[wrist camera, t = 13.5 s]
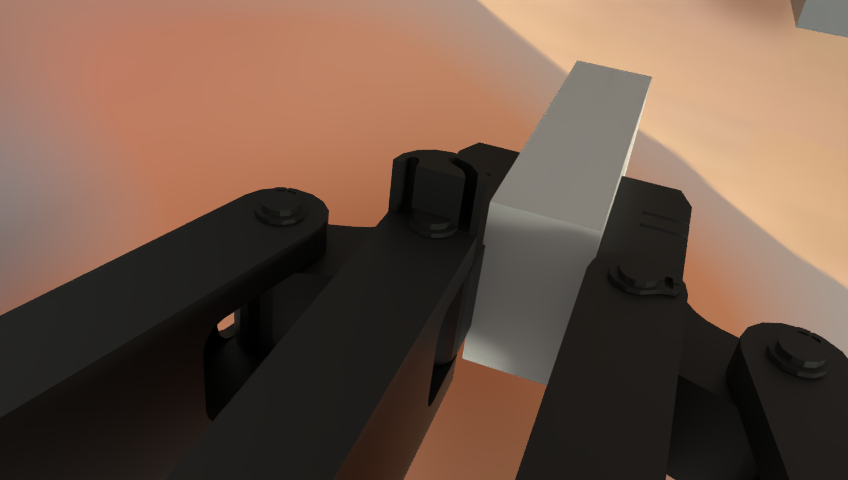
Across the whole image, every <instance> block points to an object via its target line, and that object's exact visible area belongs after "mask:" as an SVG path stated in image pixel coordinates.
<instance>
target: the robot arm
mask: <svg viewBox="0 0 848 480" xmlns="http://www.w3.org/2000/svg"><path fill="white" fill-rule="evenodd" d="M651 80H652V77H650V76H646V75H641V74H637V73H632V72H627V71H623V70H618V69H614V68H609V67H605V66H600V65H595V64H591V63H586V62H582V61H577V62H576V64H575V65H574V67H573V68H572V70H571V72H570V73H569V75H568V77H567V78H566V80H565V82H564V83H563V85H562V86H561V88H560V90H559V91H558V93H557V94H556V96H555V98H554V99H553V101H552V103H551V104H550V106H549V107H548V109H547V111H546V112H545V114H544V115H543V117H542V119H541V120H540V122H539V123H538V125H537V127H536V128H535V130H534V132H533V133H532V135H531V136H530V138H529V140H528V141H527V143H526V145H525V146H524V148H523V149H522V151H521V153H519V152H516V151H512V150H508V149H504V148H500V147H496V146H491V145H487V144H484V143H477V144H475V145H472V146H470V147H467V148H465V149H462V150H460V151H459V152H458V154H456V153H453V152H447V151H440V150H416V151H412V152H407V153H403V154H402V155H400V156H398V157H397V158H395V159H393V168H392V178H391V189H390V198H389V209H388V213H387V214H386V215H385V216H384V218H383V219H382V220H381V221H380V222H379V223H378V225H377V226H376V227H351V226H339V225H329V224H328V216H329V210H328V209H327V207H326V205H325V203H324V202H323V201H322V200H320V199H319V198H317V197H315V196H314V195H312V194H309V193H306V192H303V191H300V190H297V189H292V188H289V189H287V188H284V187H276V188H273V189H263V190H258V191H255V192H252V193H249V194H246V195H244V196H242V197H240V198H238V199H236V200H234V201H232V202H230V203H228V204H226V205H224V206H221V207H220V208H217V209H216V210H213V211H211V212H209V213H207V214H205V215H203V216H201V217H199V218H197V219H195V220H193V221H191V222H189V223H187V224H185V225H183V226H181V227H179V228H177V229H175V230H173V231H171V232H169V233H167V234H165V235H163V236H161V237H159V238H157V239H155V240H153V241H151V242H149V243H147V244H145V245H142V246H141V247H138V248H137V249H135V250H132V251H130V252H129V253H126V254H124V255H122V256H120V257H118V258H116V259H114V260H112V261H110V262H108V263H106V264H104V265H102V266H100V267H98V268H96V269H94V270H92V271H90V272H88V273H86V274H84V275H82V276H80V277H78V278H76V279H74V280H72V281H70V282H68V283H66V284H64V285H61V286H59V287H57V288H55V289H53V290H51V291H49V292H47V293H46V294H43V295H41V296H39V297H37V298H35V299H33V300H31V301H29V302H27V303H25V304H23V305H21V306H19V307H17V308H15V309H13V310H11V311H9V312H7V313H5V314H3V315H1V316H0V480H403V479H404V477H405V475H406V473H407V471H408V469H409V467H410V465H411V463H412V461H413V459H414V457H415V455H416V453H417V451H418V449H419V447H420V445H421V443H422V441H423V439H424V437H425V435H426V432H427V431H428V429H429V427H430V424H431V422H432V420H433V418H434V416H435V414H436V412H437V410H438V408H439V406H440V404H441V402H442V400H443V398H444V396H445V394H446V392H447V390H448V388H449V386H450V384H451V382H452V379H453V374H454V368H455V362H456V356H457V353H458V351H459V349H460V347H461V345H462V343H463V341H464V339H465V337H466V340H465V346H464V351H463V357H462V358H463V359H466V360H469V361H472V362H475V363H478V364H482V365H485V366H488V367H491V368H494V369H498V370H500V371H503V372H507V373H510V374H513V375H516V376H520V377H522V378H525V379H528V380H532V381H535V382H538V383H541V384H544V385H547V387H546V390H545V393H544V396H543V399H542V402H541V405H540V408H539V411H538V414H537V417H536V420H535V423H534V426H533V429H532V432H531V434H530V437H529V441H528V443H527V446H526V449H525V452H524V455H523V458H522V461H521V464H520V467H519V470H518V473H517V476H516V479H515V480H666V474H667V475H668V476H670V477H672V478H673V479H675V480H848V358H847V357H846V356H845V355H844V353H843V352H842V351H840V350H839V349H838V348H836V347H835V346H834V345H832V344H831V343H830V342H828V341H827V340H826V339H824V338H823V337H821V336H819V335H817V334H815V333H811V332H810V331H808V330H806V329H803V328H800V327H794V326H791V325H787V324H783V323H760V324H756V325H753V326H750V327H748V328H747V329H746V330H745V331H744V333H743V334H742V335H741V336H740V338H738V337H736V336H734V335H732V334H730V333H728V332H726V331H724V330H722V329H720V328H718V327H717V326H715V325H713V324H711V323H710V322H708V321H706V320H705V319H704V318H702V317H701V316H700V315H699V314H698V313H696V312H695V311H694V310H693V309H692V307H691V306H690V305H689V304H688V303H687V298H688V293H687V289H686V285H685V283H684V282H683V281H682V280H683V271H684V264H685V257H686V248H687V241H688V239H687V238H688V233H689V224H690V218H691V210H692V207H691V205H690V204H689V202H688V201H687V199H686V198H685V196H684V195H683V193H682V191H680V190H677V189H673V188H668V187H665V186H660V185H657V184H653V183H648V182H645V181H641V180H636V179H632V178H628V177H625V173H626V170H627V166H628V162H629V159H630V155H631V152H632V148H633V144H634V141H635V137H636V133H637V130H638V126H639V123H640V119H641V116H642V112H643V108H644V105H645V101H646V98H647V94H648V90H649V87H650V83H651ZM233 312H234V323H233V324H232V325H230V326H229V327H227V328H226V329H224V330H221V331H218V328H217V324H218V323H219V322H220V321H222V320H223V319H224V318H225V317H227V316H228V315H230V314H231V313H233Z"/></svg>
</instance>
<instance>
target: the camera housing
mask: <svg viewBox="0 0 848 480" xmlns="http://www.w3.org/2000/svg"><path fill="white" fill-rule="evenodd" d="M791 5H792V10H793V14H794V19H795V24H796V27H797V28H803V29H808V30H813V31H818V32H823V33H828V34H833V35H839V36H844V37H848V0H791Z"/></svg>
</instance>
